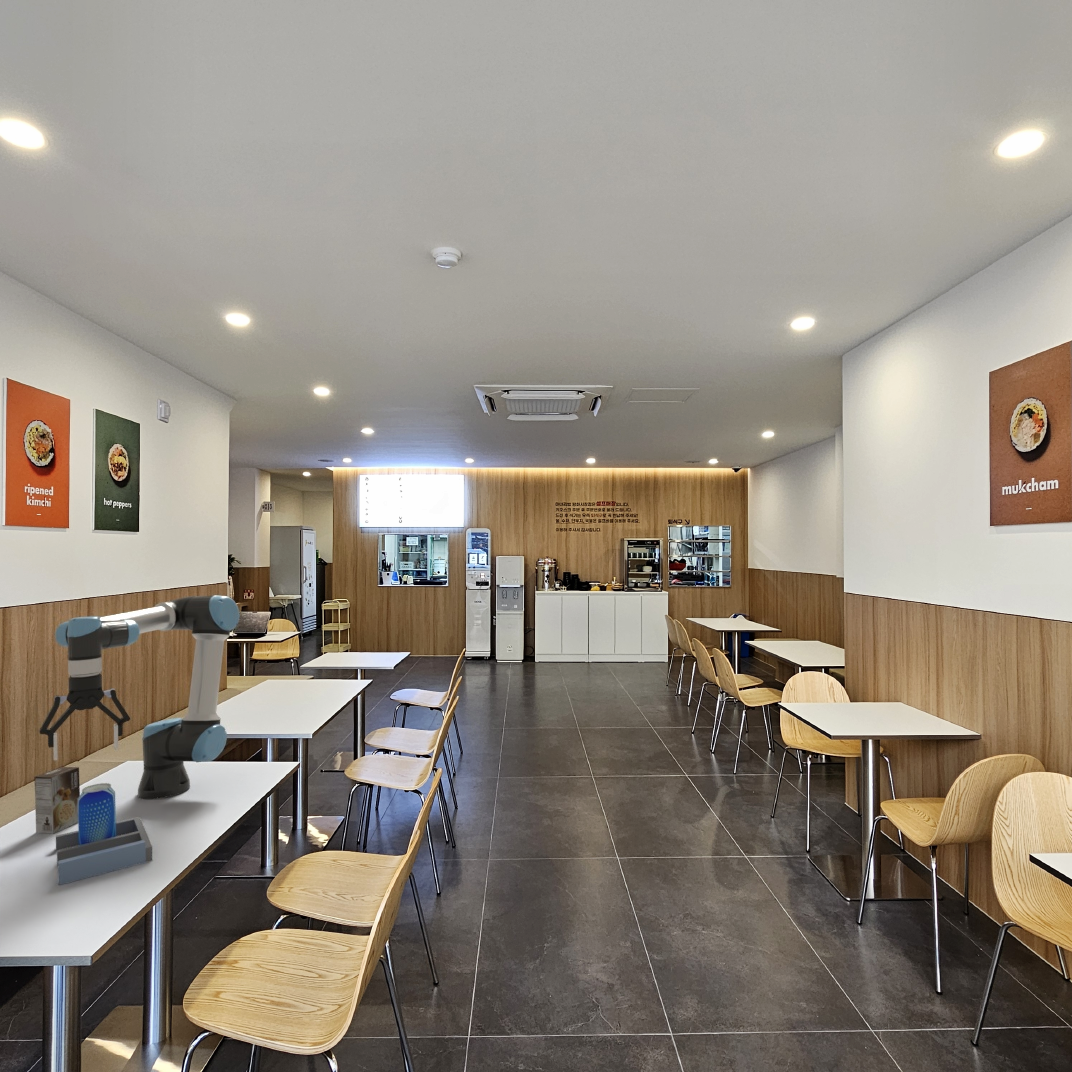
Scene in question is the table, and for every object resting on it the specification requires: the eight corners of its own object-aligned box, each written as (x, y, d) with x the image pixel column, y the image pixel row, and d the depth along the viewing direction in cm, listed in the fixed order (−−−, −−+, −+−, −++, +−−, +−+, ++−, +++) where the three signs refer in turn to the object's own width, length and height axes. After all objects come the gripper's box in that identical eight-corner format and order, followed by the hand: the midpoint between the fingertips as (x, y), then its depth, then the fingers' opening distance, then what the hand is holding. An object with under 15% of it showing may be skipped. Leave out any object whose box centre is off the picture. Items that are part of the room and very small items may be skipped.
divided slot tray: (139, 828, 193) (139, 811, 193) (152, 860, 172) (152, 840, 172) (55, 848, 181) (55, 829, 181) (58, 885, 160) (58, 863, 160)
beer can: (76, 857, 175) (75, 795, 176) (81, 845, 183) (80, 785, 183) (114, 849, 179) (113, 788, 180) (117, 838, 187) (116, 779, 187)
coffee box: (63, 820, 202) (62, 766, 202) (81, 821, 200) (80, 766, 201) (34, 833, 193) (33, 776, 193) (53, 834, 191) (52, 777, 192)
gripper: (136, 666, 193) (138, 741, 192) (27, 679, 178) (28, 760, 177) (140, 670, 187) (141, 747, 186) (27, 682, 172) (28, 767, 171)
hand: (86, 753), depth 182 cm, fingers open, 13 cm apart
